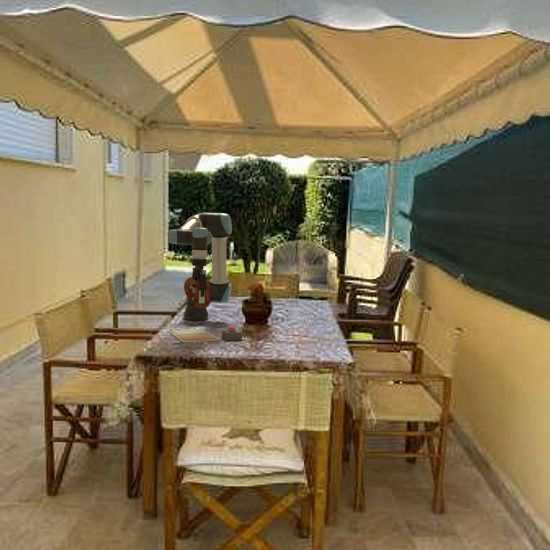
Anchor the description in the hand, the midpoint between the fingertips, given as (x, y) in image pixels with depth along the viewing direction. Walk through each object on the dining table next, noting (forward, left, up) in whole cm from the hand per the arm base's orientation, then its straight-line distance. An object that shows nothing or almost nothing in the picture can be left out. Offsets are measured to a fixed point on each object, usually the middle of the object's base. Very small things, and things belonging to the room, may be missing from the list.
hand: (198, 301), depth 325 cm
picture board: (-6, 0, -20) cm, 21 cm away
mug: (-1, 0, -3) cm, 3 cm away
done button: (+3, +18, -17) cm, 25 cm away
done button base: (+3, +18, -20) cm, 27 cm away
